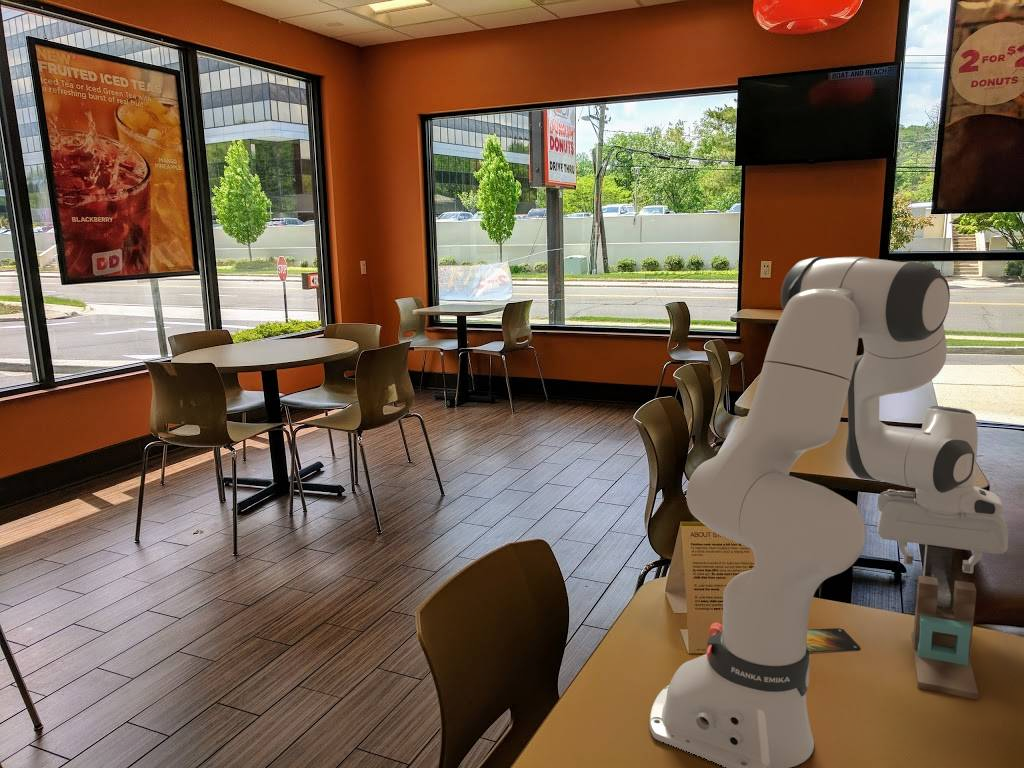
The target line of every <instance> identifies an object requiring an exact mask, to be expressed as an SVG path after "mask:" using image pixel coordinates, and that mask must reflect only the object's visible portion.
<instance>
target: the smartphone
mask: <svg viewBox="0 0 1024 768" xmlns="http://www.w3.org/2000/svg"><path fill="white" fill-rule="evenodd" d="M806 645H807V647H808V649H809V654H815V653H816V654H817V653H819V654H820V653H821V654H822V653H835V652H836V653H838V652H858V650H859V651H861V650H862V648H861V646H860V645H859V644H858V643H857V642H856V641H855V640H854V639H853V638H852V636H850V635H849V634H848V632H846V630H845V629H843V628H840V627H838V628H836V627H834V628H817V629H816V628H812V629H807V642H806Z"/></svg>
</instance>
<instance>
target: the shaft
mask: <svg viewBox="0 0 1024 768" xmlns="http://www.w3.org/2000/svg"><path fill="white" fill-rule="evenodd" d="M924 545H925V548H924V556H923V557H924V558H923V572H922V576H928V577H935V578H937V581H938V596H937V607H942V608H947V609H948V608H949V609H950V608H951V602H952V601H951V600H952V595H951V592H950V591H951V590H950V584H951V577H952V576H951V574H952V563H953V554H954V553H953V552H954V548H949V547H941V546H934V545H926V544H924Z"/></svg>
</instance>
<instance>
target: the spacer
mask: <svg viewBox="0 0 1024 768" xmlns="http://www.w3.org/2000/svg"><path fill="white" fill-rule="evenodd" d="M932 631H934V632H940V633H946V634H952V635H956V643H955V649H954V648H949V647H943V646H937V645H932V644H931V642H932ZM970 638H971V626H970V623H966V622H960V621H954V620H948V619H942V618H936V617H930V616H923V615H920V634H919V642H918V649H917V651H918V656H919V657H924V658H930V659H935V660H940V661H946V662H951V663H956V664H962V665H967V666H968V659H969V657H968V651H969V641H970Z"/></svg>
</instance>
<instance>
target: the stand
mask: <svg viewBox="0 0 1024 768" xmlns="http://www.w3.org/2000/svg"><path fill="white" fill-rule="evenodd" d="M916 587H917V588H916V599H915V610H914V611H915V612H914V623H913V631H911V635H910V636H911V645H912V646H911V647H912V653H913V661H914V670H915V677H916V684H917V687H916V688H919V689H923V690H928V691H933V692H938V693H944V694H948V695H953V696H957V697H963V698H968V699H973V700H977V701H978V699H979V691H978V686H977V684H976V678H975V675H974V671H973V666H972V663H971V650H972V641H973V639H972V638H973V632H974V631H973V630H974V621H975V620H974V619H975V611H976V610H975V609H976V600H977V599H976V598H977V588H976V585H975V582H969V581H962V580H961V581H960V580H954V586H953V597H952V607H951V609H950V608H949V609H948V608H944V607H942V608H941V607H938V606H937V596H938V581H937V578H935V577H928V576H923V575H920V574H919V575H918V577H917V586H916ZM920 615H923V616H930V617H936V618H942V619H948V620H954V621H960V622H966V623H970V626H971V638H970V641H969V651H968V657H969V659H968V666H967V665H962V664H956V663H951V662H946V661H940V660H935V659H930V658H924V657H919V656H918V651H917V649H918V642H919V634H920ZM955 643H956V635H952V634H946V633H940V632H934V631H932V642H931V644H932V645H937V646H943V647H949V648H954V649H955Z"/></svg>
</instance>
